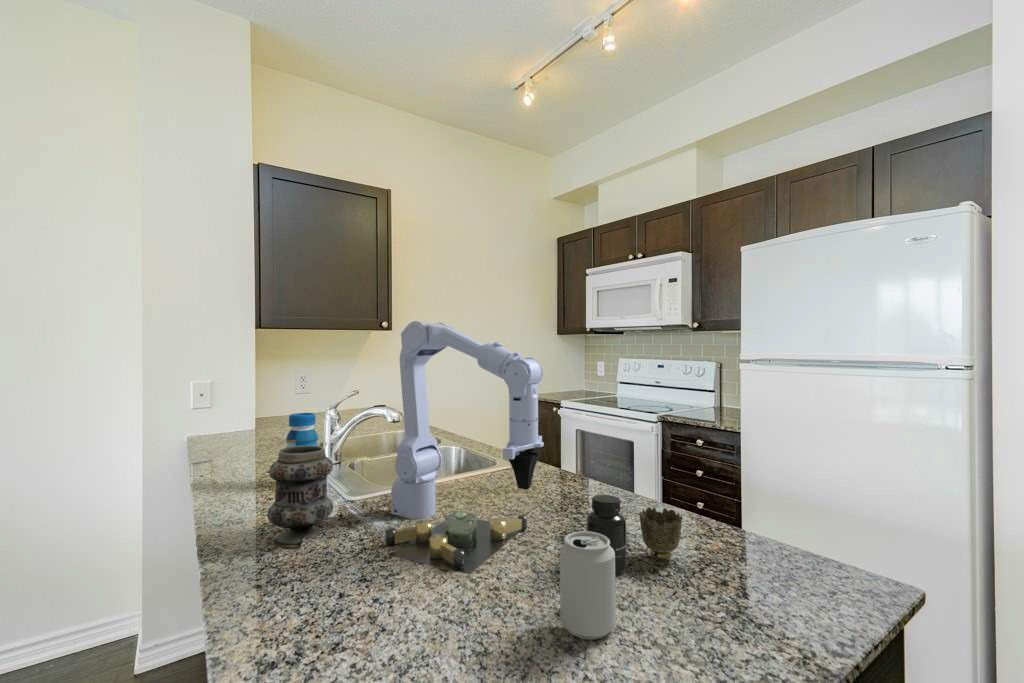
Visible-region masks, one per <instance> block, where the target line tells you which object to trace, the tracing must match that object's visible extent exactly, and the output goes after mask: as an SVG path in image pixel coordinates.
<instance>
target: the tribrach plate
mask: <svg viewBox="0 0 1024 683" xmlns="http://www.w3.org/2000/svg"><path fill="white" fill-rule="evenodd" d="M444 517H445V518H444V521H443V522H441V523H439V524H437V525H436V526H434V527H432V535H434V534H445V535H447V536H448V544H449V545H451V546H453V547H455V548H457V549H463V550H464V557H465V565H464V567H462V568H456V567H454V564H453V563H451V562H450V561H448V560H446V559H444V558H432V557H430V541H428V542H417V541H416V540H410V541H408V542H407V543H406V544H404V545H402V546H400V547H398V548H397V549H395V550H394V551H392V552H391V553H389V554H388V556H389V557H394V558H399V559H403V560H407V561H411V562H414V563H415V562H416V563H419V564H424V565H429V566H433V567H437V568H442V569H446V570H450V571H454V572H459V573H461V574H467V575H471V574H472V573H473V572H475V570H477V569H478V568H479V567H480V566H482V565H483V564H484V563H485V562H486V561H488V560H489V559H490V558H491V557H492V556H493V555H495V554H496V553H497V552H498V551H499V550H500V549H502V548H503V547H504V546H505V545H506V544H508V543H509V542H510V541H511V540H512V539H513V538H514V537H516V536H517V535H518V534H519V533H520V532H521V531H523V530H517V531H514V532H510V533H507V534H506V538H505V539H501V540H494V539H491V538H490V520H482V519H478V518H477V515H476V514H475V513H472V512H469V511H462V510H461V511H456V512H452V513H449V514H447V515H446V516H444Z"/></svg>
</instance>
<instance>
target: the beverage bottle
mask: <svg viewBox="0 0 1024 683" xmlns="http://www.w3.org/2000/svg"><path fill="white" fill-rule="evenodd" d="M315 425H316V414H315V413H313V412H297V413H291V414H289V416H288V426H289V428H290V430H289V431H288V433H287V436H286V439H285V441H286V444H287V445H286V447H285V448H288V447H293V446H305V445H311V446H319V443H318V440H319V435H318V433H317V431H316V429H315V428H314V426H315Z"/></svg>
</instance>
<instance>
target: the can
mask: <svg viewBox="0 0 1024 683" xmlns="http://www.w3.org/2000/svg"><path fill="white" fill-rule="evenodd" d="M563 541H564V542H563V544H562V545H561V546H560V548H559V599H560V600H559V603H560V604H559V607H560V608H559V614H560V615H559V616H560V617H559V618H560V620H559V621H560V623H561V625H562V627H564V628H565V629H567V631H568V633H570V634H571V635H572V636H574V637H577V638H579V639H584V640H592V641H593V640H598V639H599V638H600V639H602V638H604V637H606V636H607V635H608V634H609V633H611V632H612V630H614V629H615V626H616V620H617V618H616V576H615V552H614V550H613V548H612V547H611V546H610V540H609V539H608V538H607V537H606V536H604V535H602V534H599V533H595V532H589V531H584V530H582V531H574V532H570V533H569V534H567V535H565V537H564V538H563Z"/></svg>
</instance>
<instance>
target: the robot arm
mask: <svg viewBox="0 0 1024 683" xmlns="http://www.w3.org/2000/svg"><path fill="white" fill-rule="evenodd" d="M400 336H401V337H400V338H401V339H400V340H401V341H400V342H401V349H400V354H399V370H400V382H401V384H400V385H401V398H402V409H403V411H402V412H403V423H404V425H403V426H404V437H403V439H402V440H401V441H400V443H399V444H398V445H397V447H396V452H397V454H396V459H395V462H394V468H395V472H396V475H397V476H398V477H397V478H395V480H394V481H393V483H392V486H391V491H390V493H391V495H390V498H391V499H390V502H391V503H390V507H391V508H390V509H391V510H390V511H391V512H390V513H391V514H390V515H395V516H401V517H403V518H406V519H410V520H424V519H427V518H431V517H433V516H434V515H435V514H436V477H437V476H438V471H439V470H440V469H441V467H442V463H443V456H442V454H441V451H440V449H439V445H438V440H437V439H436V438H435V436H433V435H432V434H431V430H430V417H429V416H430V415H429V406H428V405H429V404H428V394H427V393H428V392H427V379H426V368H425V367H426V366H425V365H426V364H427V363H428V362H429V360H431V358H432V357H434V356H435V355H437V354H438V353H440V352H442V351H443V350H445V349H446V348H447V347H449V348H452V349H454V350H456V351H458V352H461V353H463V354H465V355H468V356H469V357H471V358H475V359H476V361H477V364H478V366H479V368H481V369H483V370H485V371H487V372H489V373H490V374H492V375H494V376H496V377H499V378H500V379H503V380H504V382H505V384H506V385H507V388H508V406H509V407H508V409H509V410H508V413H509V414H508V418H509V419H508V420H509V421H508V424H509V425H508V426H509V427H508V430H509V431H508V433H509V434H508V435H509V441H508V442H507V444H506V445H505V447H503V448H502V459H504V460H505V459H507V460H508V461H509V464H510V465H511V468H512V471H513V474H514V477H515V482H516V485H517V489H519V490H520V489H521V490H525V491H526V490H529V489H530V488H531V485H532V481H533V476H534V472H535V468H536V465H537V462H538V460H539V458H540V456H541V450H538V449H535V448H542V447H545V445H544V444H545V442H543V435H539V394H538V393H539V392H538V390H539V387H538V386H539V385H538V384H539V383H540V382H541V381H542V378H543V368H542V366H541V364H540V363H539V362H538V361H537V360H536V359H534V358H533V357H525V358H523V357H522V353H520V352H517V351H516V352H514V351H511V350H509V349H507V348H505V347H503V343H501V342H499V341H494V342H493V341H492V342H487V343H486V344H483V343H481V342H479V341H478V340H477V339H475V338H473V337H471V336H469V335H467V334H465V333H464V332H462V331H460V330H458V329H456V328H454V327H453V326H451V325H447V324H445V323H443V322H425V321H424V322H423V321H419V320H418V321H417V320H415V321H410V322H409V323H408V324H407V325H406V326H405V327H404V328H403V330H402V331H401V333H400Z"/></svg>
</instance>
